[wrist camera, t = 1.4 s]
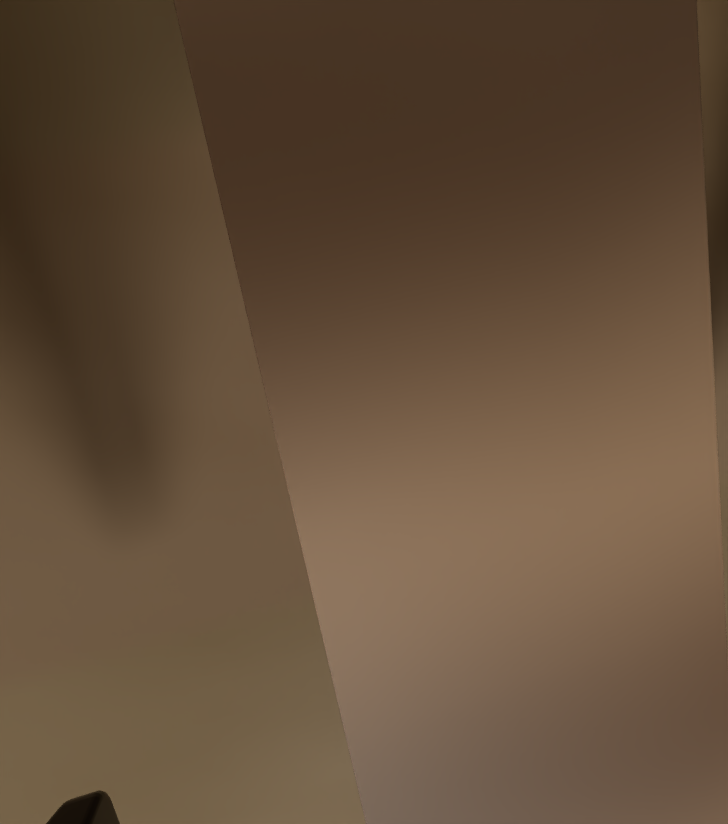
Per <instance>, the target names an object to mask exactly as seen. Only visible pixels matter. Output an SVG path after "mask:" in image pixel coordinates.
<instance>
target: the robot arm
mask: <svg viewBox="0 0 728 824" xmlns="http://www.w3.org/2000/svg"><path fill="white" fill-rule="evenodd" d="M46 824H120V823H119V820H118V818H117V815H116V812H115V809H114V807H113V804H112V801H111V799H110V797H109V796H108V794H107V793H106V792H104V791H96V792H92V793H89V794H86V795H83V796H80V797H76V798H73V799H71V800H68V801H66V802H65V803H64V804H63V805H62V806H61V807H60V808H59V809H58V810H57V811H56V812H55V814H54V815H53V816H52V817H51V818H50V820H49V821H48V822H47V823H46Z"/></svg>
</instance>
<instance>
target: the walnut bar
mask: <svg viewBox="0 0 728 824" xmlns="http://www.w3.org/2000/svg"><path fill="white" fill-rule="evenodd" d="M174 5H175V9H176V13H177V17H178V22H179V26H180V30H181V34H182V39H183V43H184V47H185V52H186V56H187V60H188V64H189V69H190V73H191V77H192V81H193V86H194V90H195V94H196V99H197V103H198V107H199V111H200V116H201V120H202V124H203V128H204V133H205V137H206V141H207V146H208V150H209V154H210V158H211V163H212V167H213V171H214V176H215V180H216V184H217V188H218V193H219V197H220V201H221V205H222V210H223V214H224V218H225V223H226V227H227V231H228V235H229V240H230V244H231V248H232V252H233V257H234V261H235V265H236V270H237V274H238V278H239V282H240V287H241V291H242V295H243V299H244V304H245V308H246V312H247V317H248V321H249V325H250V329H251V334H252V338H253V342H254V347H255V351H256V355H257V359H258V364H259V368H260V372H261V376H262V381H263V385H264V389H265V394H266V398H267V402H268V406H269V411H270V415H271V419H272V423H273V428H274V432H275V436H276V441H277V445H278V449H279V453H280V458H281V462H282V466H283V470H284V475H285V479H286V483H287V488H288V492H289V496H290V500H291V505H292V509H293V513H294V518H295V522H296V526H297V530H298V535H299V539H300V543H301V547H302V552H303V556H304V560H305V565H306V569H307V573H308V577H309V582H310V586H311V590H312V594H313V599H314V603H315V607H316V612H317V616H318V620H319V624H320V629H321V633H322V637H323V641H324V646H325V650H326V654H327V659H328V663H329V667H330V671H331V676H332V680H333V684H334V689H335V693H336V697H337V701H338V706H339V710H340V714H341V718H342V723H343V727H344V731H345V736H346V740H347V744H348V748H349V753H350V757H351V761H352V765H353V770H354V774H355V778H356V783H357V787H358V791H359V795H360V800H361V804H362V808H363V812H364V817H365V821H366V824H728V656H727V635H726V614H725V593H724V572H723V550H722V529H721V508H720V487H719V466H718V445H717V423H716V402H715V381H714V360H713V339H712V317H711V296H710V275H709V254H708V233H707V212H706V190H705V169H704V148H703V127H702V106H701V84H700V63H699V42H698V21H697V0H174Z"/></svg>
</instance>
